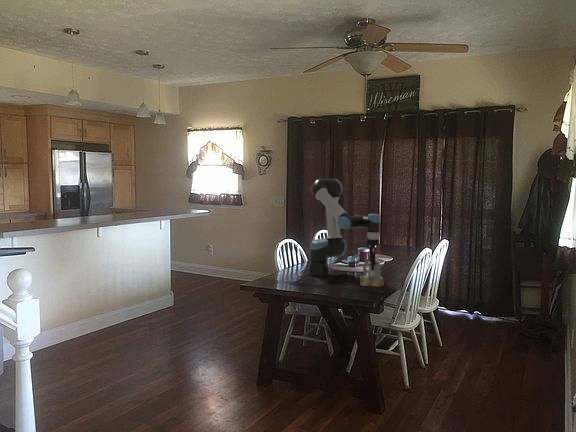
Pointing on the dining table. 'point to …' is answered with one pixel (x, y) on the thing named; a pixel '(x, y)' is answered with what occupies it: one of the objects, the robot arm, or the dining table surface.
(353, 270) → the dining table surface
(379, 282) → the stand
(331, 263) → the dining table surface
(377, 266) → the mug
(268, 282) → the dining table surface
